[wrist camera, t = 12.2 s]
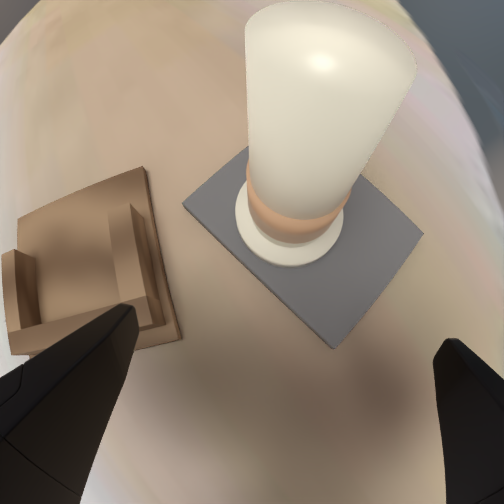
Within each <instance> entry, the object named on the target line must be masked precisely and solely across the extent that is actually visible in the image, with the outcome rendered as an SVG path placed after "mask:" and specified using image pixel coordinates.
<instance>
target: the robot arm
mask: <svg viewBox="0 0 504 504" xmlns="http://www.w3.org/2000/svg"><path fill="white" fill-rule="evenodd" d="M138 335H139V323H138V318H137V313H136V309H135V307H134V306H133V305H129V304H124V303H120V304H118V305H116V306H114V307H113V308H111V309H110V310H108V311H106V312H105V313H103V314H101V315H100V316H98V317H96V318H95V319H93V320H92V321H90V322H88V323H87V324H85V325H83V326H82V327H80V328H79V329H77V330H75V331H74V332H72V333H70V334H69V335H67V336H66V337H64V338H62V339H61V340H59V341H58V342H56V343H54V344H53V345H51V346H50V347H48V348H47V349H45V350H43V351H42V352H40V353H39V354H37V355H35V356H34V357H32V358H31V359H29V360H28V361H26V362H25V363H24V364H21V365H20V366H18V367H17V368H15V369H14V370H12V371H10V372H9V373H7V374H5V375H4V376H2V377H1V378H0V504H80V501H81V496H82V494H83V491H84V488H85V485H86V482H87V479H88V476H89V473H90V470H91V467H92V464H93V462H94V459H95V456H96V453H97V450H98V448H99V445H100V442H101V440H102V437H103V434H104V432H105V429H106V426H107V424H108V421H109V419H110V416H111V414H112V411H113V409H114V406H115V404H116V401H117V399H118V396H119V394H120V391H121V389H122V386H123V384H124V381H125V378H126V375H127V372H128V369H129V365H130V362H131V358H132V355H133V352H134V348H135V345H136V342H137V339H138ZM433 369H434V379H435V389H436V401H437V410H438V416H439V423H440V430H441V437H442V446H443V455H444V466H445V481H446V504H504V379H503V378H502V377H500V376H499V375H498V374H497V373H496V372H495V371H494V370H493V369H492V368H491V367H490V366H488V365H487V364H486V363H485V362H484V361H483V360H482V359H481V358H480V357H478V356H477V355H476V354H475V353H474V352H473V351H472V350H471V349H469V348H468V347H467V346H466V345H465V344H464V343H463V342H461V341H460V340H459V339H457V338H447V339H446V340H445V341H444V342H443V344H442V345H441V347H440V348H439V350H438V351H437V353H436V355H435V356H434V359H433Z"/></svg>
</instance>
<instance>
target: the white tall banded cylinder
mask: <svg viewBox="0 0 504 504" xmlns="http://www.w3.org/2000/svg"><path fill="white" fill-rule="evenodd" d="M245 54H246V83H247V113H248V142H249V159H248V163H247V168H246V179H247V181H246V182H245V183H244V184H243V186H242V188H241V189H240V191H239V194H238V196H237V200H236V206H235V216H236V222H237V228H238V231H239V235H240V237H241V239H242V241H243V243H244V244H245V246H246V247H247V248H248V249H249V251H250V252H251V253H252V254H254V255H255V256H256V257H257V258H259V259H260V260H262V261H264V262H266V263H268V264H270V265H273V266H277V267H282V268H298V267H303V266H306V265H309V264H311V263H313V262H315V261H317V260H318V259H320V258H321V257H322V256H324V255H325V254H326V253H327V251H328V250H329V249H330V248H331V247H332V246H333V244H334V243H335V242H336V240H337V238H338V237H339V234H340V232H341V229H342V225H343V207H344V205H345V203H346V202H347V200H348V198H349V196H350V193H351V189H352V186H353V184H354V183H355V181H356V179H357V178H358V176H359V175H360V173H361V171H362V170H363V168H364V166H365V165H366V163H367V161H368V160H369V158H370V156H371V155H372V153H373V151H374V150H375V148H376V146H377V145H378V143H379V141H380V139H381V138H382V136H383V134H384V133H385V131H386V129H387V127H388V126H389V124H390V122H391V120H392V119H393V117H394V115H395V113H396V112H397V110H398V108H399V106H400V105H401V103H402V101H403V99H404V97H405V96H406V94H407V92H408V90H409V88H410V86H411V85H412V83H413V81H414V79H415V77H416V74H417V63H416V60H415V57H414V55H413V53H412V51H411V50H410V48H409V46H408V45H407V44H406V43H405V42H404V40H403V39H402V38H401V37H400V36H399V35H398V34H396V33H395V32H394V31H393V30H392V29H390V28H389V27H388V26H386V25H385V24H383V23H382V22H380V21H378V20H377V19H375V18H373V17H371V16H369V15H367V14H365V13H363V12H360V11H358V10H355V9H352V8H349V7H346V6H343V5H339V4H334V3H329V2H323V1H313V0H295V1H286V2H281V3H276V4H273V5H270V6H268V7H265V8H263V9H261V10H259V11H258V12H256V13H255V14H254V15H253V16H252V17H251V18H250V19H249V20H248V22H247V24H246V27H245Z"/></svg>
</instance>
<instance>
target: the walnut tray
mask: <svg viewBox="0 0 504 504" xmlns="http://www.w3.org/2000/svg"><path fill="white" fill-rule="evenodd" d="M2 284H3V298H4V308H5V317H6V325H7V332H8V339H9V345H10V350H11V355H29V357H30V359H31V358H32V357H34V356H35V355H37V354H39V353H40V352H42V351H43V350H45V349H47V348H48V347H50V346H51V345H53V344H54V343H56V342H58V341H59V340H61V339H62V338H64V337H66V336H67V335H69V334H70V333H72V332H74V331H75V330H77V329H79V328H80V327H82V326H83V325H85V324H87V323H88V322H90V321H92V320H93V319H95V318H96V317H98V316H100V315H101V314H103V313H105V312H106V311H108V310H110V309H111V308H113V307H114V306H116V305H118V304H120V303H124V304H129V305H133V306H134V307H135V309H136V313H137V318H138V323H139V335H138V339H137V342H136V345H135V348H134V350H138V349H143V348H147V347H151V346H155V345H160V344H164V343H168V342H172V341H176V340H180V339H182V338H181V335H180V331H179V327H178V324H177V320H176V316H175V312H174V308H173V304H172V300H171V296H170V292H169V288H168V284H167V279H166V275H165V271H164V266H163V262H162V257H161V252H160V248H159V243H158V238H157V233H156V227H155V222H154V217H153V211H152V206H151V200H150V194H149V188H148V181H147V175H146V171H145V169H144V168H143V166H141V167H139V168H136V169H133V170H130V171H127V172H125V173H122V174H119V175H116V176H114V177H111V178H109V179H106V180H103V181H101V182H98V183H96V184H93V185H91V186H88V187H86V188H84V189H81V190H79V191H76V192H74V193H72V194H69V195H67V196H65V197H63V198H60V199H58V200H56V201H54V202H52V203H49V204H47V205H45V206H43V207H41V208H39V209H37V210H35V211H33V212H31V213H29V214H27V215H25V216H23V217H21V218H19V219H18V228H17V250H15V249H13V250H11V251H9V252H7V253H5V254H3V255H2Z"/></svg>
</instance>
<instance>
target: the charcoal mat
mask: <svg viewBox="0 0 504 504" xmlns="http://www.w3.org/2000/svg"><path fill="white" fill-rule="evenodd" d="M248 159H249V146H247V147H246V148H245V149H244V150H242V151H241V152H240V153H239V154H238V155H236V156H235V157H234V158H233V159H232V160H230V161H229V162H228V163H227V164H226V165H224V166H223V167H222V168H221V169H220V170H219V171H217V172H216V173H215V174H214V175H213V176H212V177H210V178H209V179H208V180H207V181H206V182H205V183H204V184H202V185H201V186H200V187H199V188H198V189H197V190H196V191H195V192H193V193H192V194H191V195H190V196H189V197H188V198H187V199H186V200H185V201H184V202H182V204H183V206H184V208H185V209H186V210H187V211H188V212H189V213H190V214H191V215H192V216H193V217H194V218H195V219H196V220H197V221H198V222H199V223H200V224H201V225H202V226H203V227H204V228H206V229H207V230H208V231H209V232H210V233H211V234H212V235H213V236H214V237H215V238H216V239H217V240H218V241H219V242H220V243H221V244H222V245H223V246H224V247H225V248H226V249H227V250H228V251H229V252H230V253H231V254H232V255H233V256H234V257H235V258H236V259H238V260H239V261H240V262H241V263H242V264H243V265H244V266H245V267H246V268H247V269H248V270H249V271H250V272H251V273H252V274H253V275H254V276H255V277H256V278H257V279H258V280H259V281H260V282H261V283H263V284H264V285H265V286H266V287H267V288H268V289H269V290H270V291H271V292H272V293H273V294H274V295H275V296H276V297H277V298H278V299H279V300H280V301H281V302H282V303H284V304H285V305H286V306H287V307H288V308H289V309H290V310H291V311H292V312H293V313H294V314H295V315H296V316H297V317H298V318H299V319H300V320H302V321H303V322H304V323H305V324H306V325H307V326H308V327H309V328H310V329H311V330H312V331H313V332H314V333H315V334H316V335H318V336H319V337H320V338H321V339H322V340H323V341H324V342H325V343H326V344H327V345H328V346H329V347H330V348H332V349H335V348H336V347H337V346H338V345H339V344H340V343H341V342H342V340H343V339H344V338H345V337H346V336H347V335H348V333H349V332H350V331H351V330H352V329H353V328H354V326H355V325H356V324H357V323H358V322H359V320H360V319H361V318H362V317H363V316H364V314H365V313H366V312H367V311H368V309H369V308H370V307H371V306H372V304H373V303H374V302H375V301H376V299H377V298H378V297H379V295H380V294H381V293H382V292H383V290H384V289H385V288H386V286H387V285H388V284H389V282H390V281H391V280H392V278H393V277H394V276H395V274H396V273H397V271H398V270H399V269H400V267H401V266H402V264H403V263H404V262H405V260H406V259H407V257H408V256H409V255H410V253H411V252H412V250H413V249H414V247H415V246H416V244H417V243H418V241H419V240H420V238H421V237H422V235H423V234H424V233H423V232H422V231H421V230H420V229H419V228H418V227H417V226H416V225H415V224H414V223H413V222H412V221H411V220H410V219H409V218H408V217H407V216H406V215H405V214H404V213H403V212H402V211H401V210H400V209H399V208H398V207H397V206H395V205H394V204H393V203H392V202H391V201H390V200H389V199H388V198H387V197H386V196H385V195H384V194H383V193H381V192H380V191H379V190H378V189H377V188H376V187H375V186H374V185H372V184H371V183H370V182H369V181H368V180H367V179H366V178H364V177H363V176H362V175H361V174H360V175H359V176H358V178H357V179H356V181H355V183H354V184H353V186H352V189H351V193H350V196H349V198H348V200H347V202H346V203H345V205H344V207H343V225H342V229H341V232H340V234H339V237H338V238H337V240H336V242H335V243H334V244H333V246H332V247H331V248H330V249H329V250H328V251H327V253H326V254H325V255H324V256H322V257H321V258H320V259H318V260H317V261H315V262H313V263H311V264H309V265H306V266H303V267H298V268H282V267H277V266H273V265H270V264H268V263H266V262H264V261H262V260H260V259H259V258H257V257H256V256H255V255H254V254H252V253H251V252H250V251H249V249H248V248H247V247H246V246H245V244H244V243H243V241H242V239H241V237H240V235H239V231H238V228H237V222H236V216H235V206H236V200H237V196H238V194H239V191H240V189H241V188H242V186H243V184H244V183H245V182H246V181H247V179H246V168H247V163H248Z"/></svg>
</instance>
